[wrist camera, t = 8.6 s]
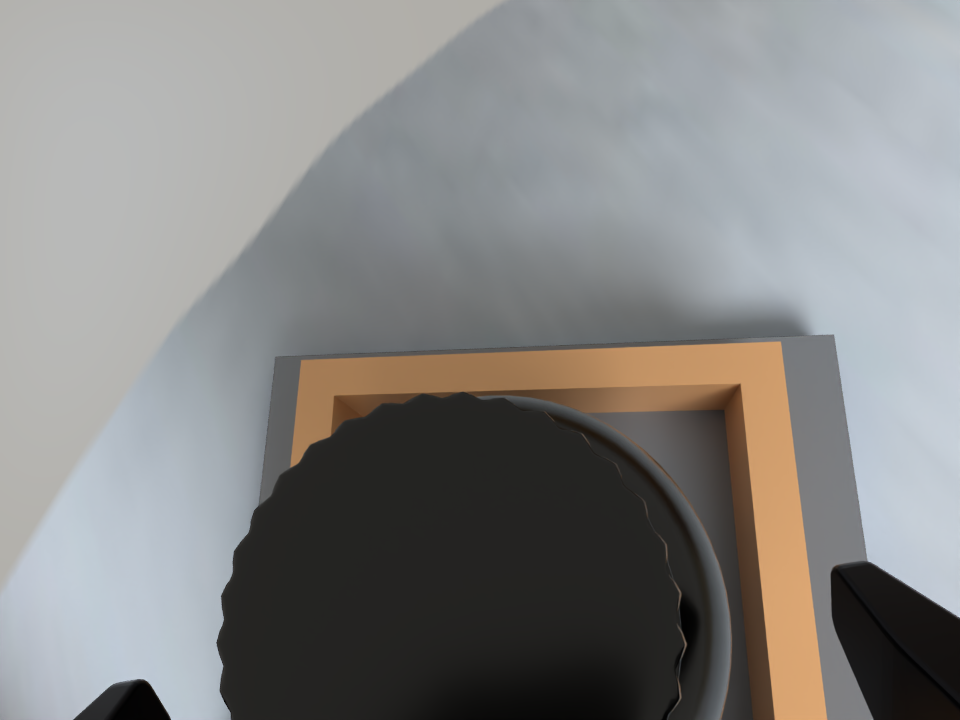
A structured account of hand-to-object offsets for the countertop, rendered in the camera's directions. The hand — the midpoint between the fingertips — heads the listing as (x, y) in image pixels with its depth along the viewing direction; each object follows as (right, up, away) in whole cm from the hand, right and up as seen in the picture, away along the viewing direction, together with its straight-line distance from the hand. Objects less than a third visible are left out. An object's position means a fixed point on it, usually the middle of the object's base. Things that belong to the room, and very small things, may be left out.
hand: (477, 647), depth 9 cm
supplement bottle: (+2, -3, +9) cm, 10 cm away
